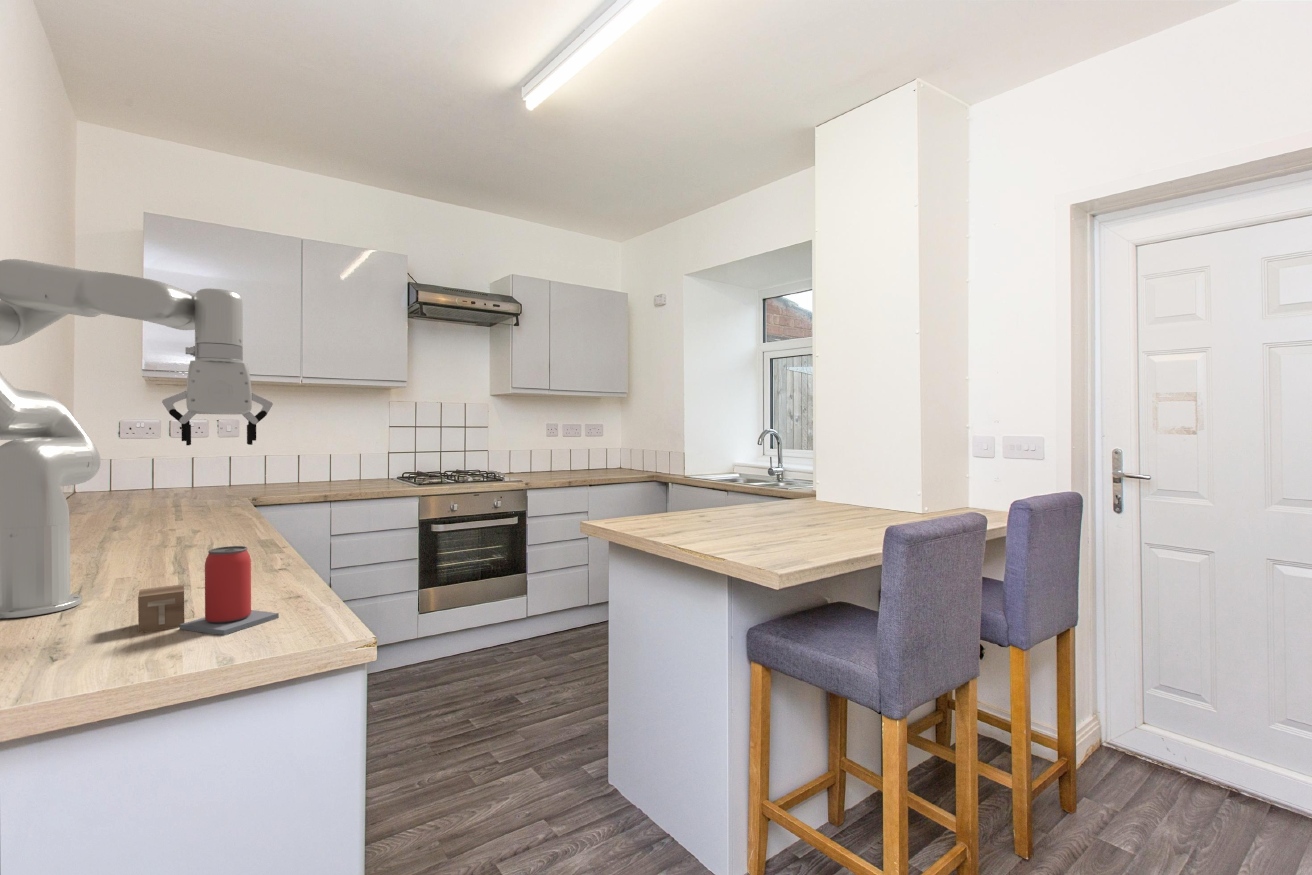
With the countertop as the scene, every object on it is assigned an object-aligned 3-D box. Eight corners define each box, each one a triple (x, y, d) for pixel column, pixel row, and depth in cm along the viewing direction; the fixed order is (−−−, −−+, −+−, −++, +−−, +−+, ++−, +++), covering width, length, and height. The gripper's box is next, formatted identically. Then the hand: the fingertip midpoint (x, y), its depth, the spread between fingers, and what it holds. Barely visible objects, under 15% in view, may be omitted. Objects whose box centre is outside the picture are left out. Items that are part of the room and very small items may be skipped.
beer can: (228, 625, 104) (228, 553, 103) (194, 623, 105) (194, 551, 105) (260, 614, 110) (260, 546, 110) (228, 612, 111) (227, 544, 111)
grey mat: (179, 629, 104) (179, 624, 104) (236, 612, 114) (236, 608, 114) (224, 635, 101) (224, 630, 101) (278, 617, 111) (278, 613, 111)
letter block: (140, 624, 107) (139, 589, 107) (183, 617, 111) (183, 584, 111) (138, 633, 102) (138, 597, 102) (184, 626, 106) (184, 591, 106)
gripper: (161, 350, 112) (161, 446, 112) (274, 357, 122) (274, 444, 122) (162, 354, 118) (162, 445, 118) (269, 360, 128) (270, 444, 128)
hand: (219, 444), depth 120 cm, fingers open, 9 cm apart
